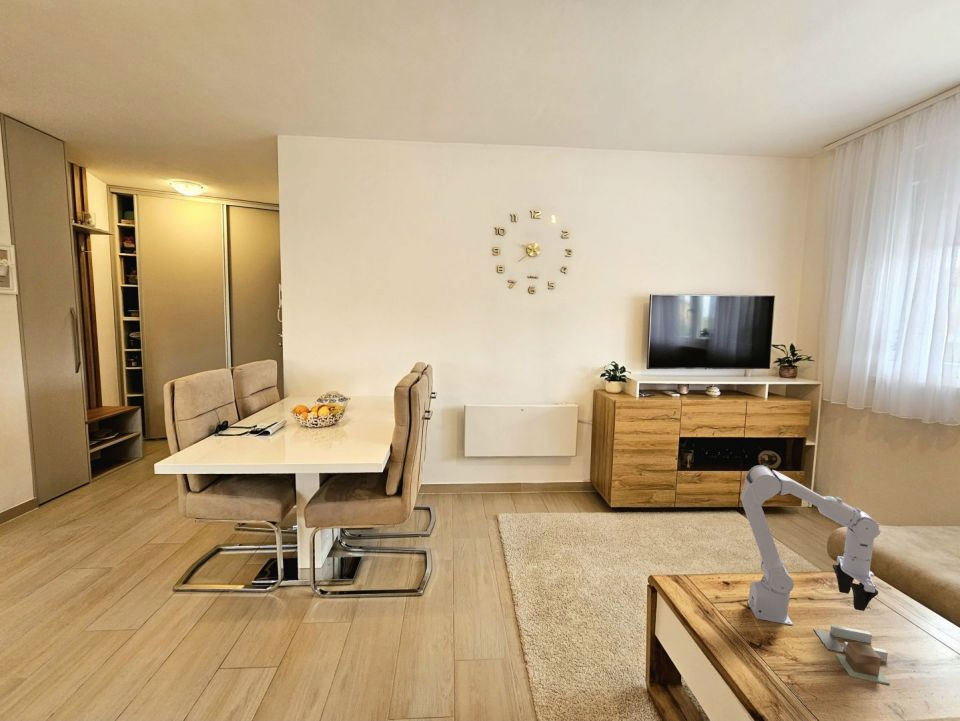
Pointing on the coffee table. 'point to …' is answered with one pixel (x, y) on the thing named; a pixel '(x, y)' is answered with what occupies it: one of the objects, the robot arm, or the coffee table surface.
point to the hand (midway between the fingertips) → (851, 600)
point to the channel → (848, 634)
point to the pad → (859, 675)
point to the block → (863, 659)
